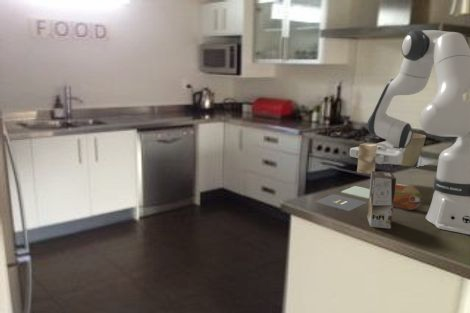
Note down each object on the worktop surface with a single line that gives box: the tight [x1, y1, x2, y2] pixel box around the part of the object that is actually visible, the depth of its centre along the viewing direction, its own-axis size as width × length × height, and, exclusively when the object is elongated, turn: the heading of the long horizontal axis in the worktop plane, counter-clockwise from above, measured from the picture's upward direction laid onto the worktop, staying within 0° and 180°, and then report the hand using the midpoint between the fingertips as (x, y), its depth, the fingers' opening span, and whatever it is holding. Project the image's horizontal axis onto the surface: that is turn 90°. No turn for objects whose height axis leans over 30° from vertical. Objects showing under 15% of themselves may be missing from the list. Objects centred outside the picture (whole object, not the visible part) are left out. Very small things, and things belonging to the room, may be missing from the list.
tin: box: [393, 183, 423, 211], centre depth 147 cm, size 15×3×8 cm, turn 57°
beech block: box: [356, 142, 377, 175], centre depth 161 cm, size 5×5×11 cm
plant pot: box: [399, 132, 427, 167], centre depth 214 cm, size 15×15×16 cm
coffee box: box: [366, 170, 397, 230], centre depth 130 cm, size 9×6×16 cm
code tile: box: [314, 193, 368, 212], centre depth 152 cm, size 14×14×1 cm
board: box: [340, 185, 370, 200], centre depth 163 cm, size 14×12×1 cm
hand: (366, 158), depth 160 cm, fingers closed on beech block, 5 cm apart
